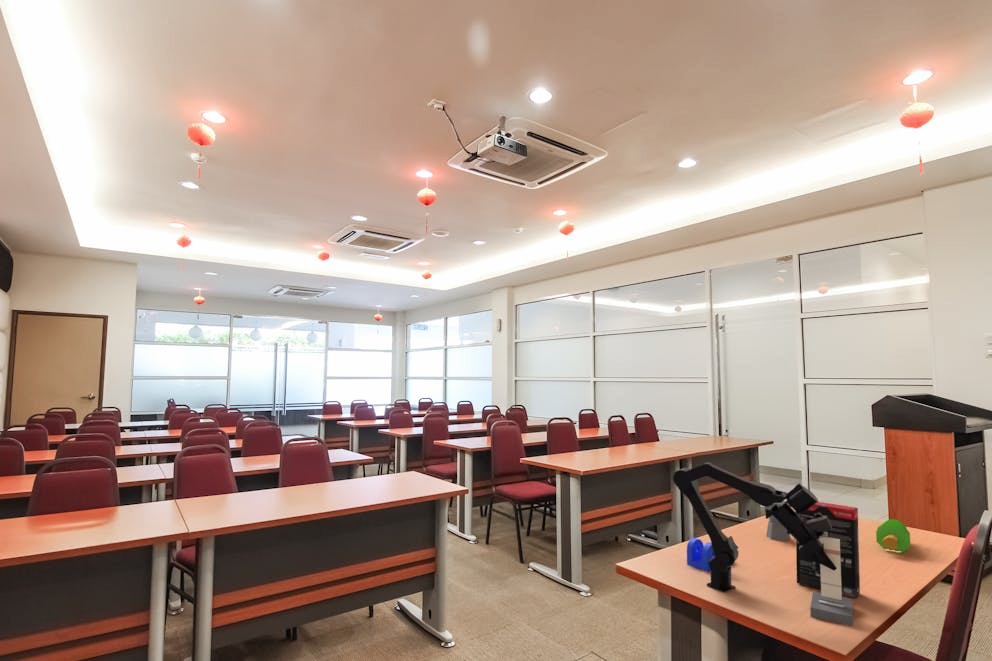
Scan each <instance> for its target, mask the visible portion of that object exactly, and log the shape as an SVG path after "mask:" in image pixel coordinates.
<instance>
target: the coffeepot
mask: <svg viewBox="0 0 992 661" xmlns="http://www.w3.org/2000/svg"><path fill="white" fill-rule="evenodd" d="M785 501H786V500H784V501H783V502H781V503H774V504H772V505H771V506H767V507H765V506H763V507H764V508H765V509H766V508H769V509H770V508H772V507H773V506H774V505H775V504H779V505H781V504H783V503H784V502H785ZM787 504H788V503H787ZM788 505H789V504H788ZM789 506H790V505H789ZM790 507H791V506H790ZM791 508H792V507H791ZM765 509H764V510H765ZM794 511H795V510H794ZM795 512H796V511H795ZM768 520H769V521H768V522H767V529H766V534H765V537H767V538H768V537H769V538H768V539H770V538H771V539H770V540H773V539H775V540H774V541H778V540H780V541H779V542H789V541H790V540H791V534H788V533H787V532H786V531H787V530H786V529H785V528H784V527H783V526H782V525H781V524H780V523H779V522H778V521H777V520H776V519H775V518H774V516H773V515H772V516H771V517H769V518H768Z"/></svg>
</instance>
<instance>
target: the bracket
mask: <svg viewBox="0 0 992 661" xmlns="http://www.w3.org/2000/svg"><path fill="white" fill-rule="evenodd" d="M713 557H714V552H713V549H712V544H711V542H706V543H705V544H704V542H703V540H701V539H700V538H696V537H691V538H690V539H689V540H688V543H687V546H686V565H687V566H690V567H692V568H696V569H698V570H701V571H703V572H706V571H707V572H706V573H708V571H709V572H711V569H710V567H709V564H708V562H709V561H710V560H711V559H712V558H713Z"/></svg>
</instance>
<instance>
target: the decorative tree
mask: <svg viewBox="0 0 992 661" xmlns="http://www.w3.org/2000/svg"><path fill="white" fill-rule="evenodd" d="M875 533H876V534H875V535H876V537H875V538H876V543H877V544H878V545H879V546H880V547H882V549H883V550H884V549H889V550H895V551H901V552H902V553H903V552H905V551H907V550H908V549H909V548H910V544H911V533H910V531H909V530H908V529H907V526H906V525H905V524H904V523H903V522H902V521H900V520H899V519H897V520H896V519H891V518H889V519H887V520H886V521H884V522H883V523H882V524H881V525H879V526H878V527H877V528H876V531H875Z"/></svg>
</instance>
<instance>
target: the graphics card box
mask: <svg viewBox="0 0 992 661" xmlns="http://www.w3.org/2000/svg"><path fill="white" fill-rule="evenodd" d="M796 513H797V514H798V515H799V516H800V517H801V518H802V517H803V518H805V519H806V520H807V521H809V520H812V519H815V514H816V513H821V514H822V515H823V516H825V515H826V516H827V517H828V518H829V521H830V523H831V525H832V529H831V530H828V531H826V530H825V531H823V532H824V534H823V535H819V536H818V537H820V536H825V537H829V538H835V539H840V562H841V584H842V585H841V590H842V596H845V597H849V598H851V599H858V597H859V595H860V593H861V587H860V586H861V581H860V580H861V579H860V551H859V550H860V548H859V546H860V545H859V544H860V543H859V514H858V513H859V509H858V507H854V506H848V505H842V504H837V503H836V504H835V503H831V502H825V501H823V502H822V501H818V502H817V503H815V504H814V505H813V506H812V507H810V508H809V509H808V510H806V511H805V512H804V513H803V512H801V511H800V512H797V511H796ZM795 542H796V544H795V546H796V550H795V551H796V556H795V557H796V562H795V563H796V565H795V566H796V583H797V584H800V585H804V586H806V587H807V586H808V587H810V588H814V589H818V590H821V572H820V563H818V562H816V561H814V560H811V559H809V558H806V559H803V558H802V557H801V556H800V555H799V547H800V546H799V545H798V544H797V543H798V542H797V540H796V539H795Z"/></svg>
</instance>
